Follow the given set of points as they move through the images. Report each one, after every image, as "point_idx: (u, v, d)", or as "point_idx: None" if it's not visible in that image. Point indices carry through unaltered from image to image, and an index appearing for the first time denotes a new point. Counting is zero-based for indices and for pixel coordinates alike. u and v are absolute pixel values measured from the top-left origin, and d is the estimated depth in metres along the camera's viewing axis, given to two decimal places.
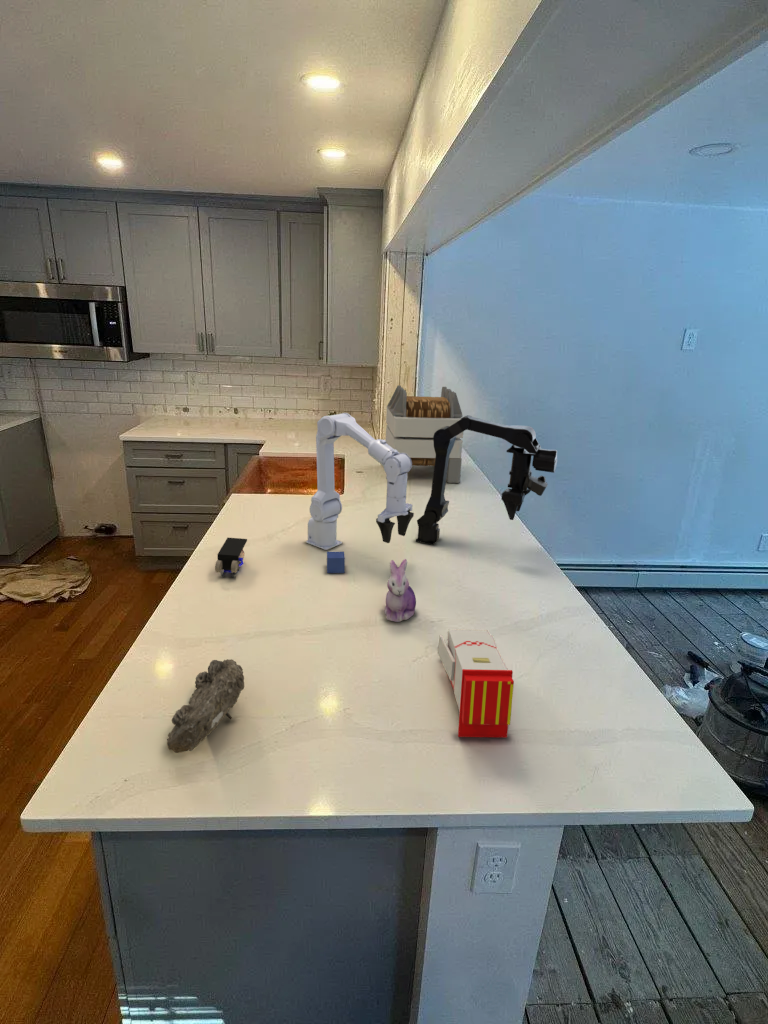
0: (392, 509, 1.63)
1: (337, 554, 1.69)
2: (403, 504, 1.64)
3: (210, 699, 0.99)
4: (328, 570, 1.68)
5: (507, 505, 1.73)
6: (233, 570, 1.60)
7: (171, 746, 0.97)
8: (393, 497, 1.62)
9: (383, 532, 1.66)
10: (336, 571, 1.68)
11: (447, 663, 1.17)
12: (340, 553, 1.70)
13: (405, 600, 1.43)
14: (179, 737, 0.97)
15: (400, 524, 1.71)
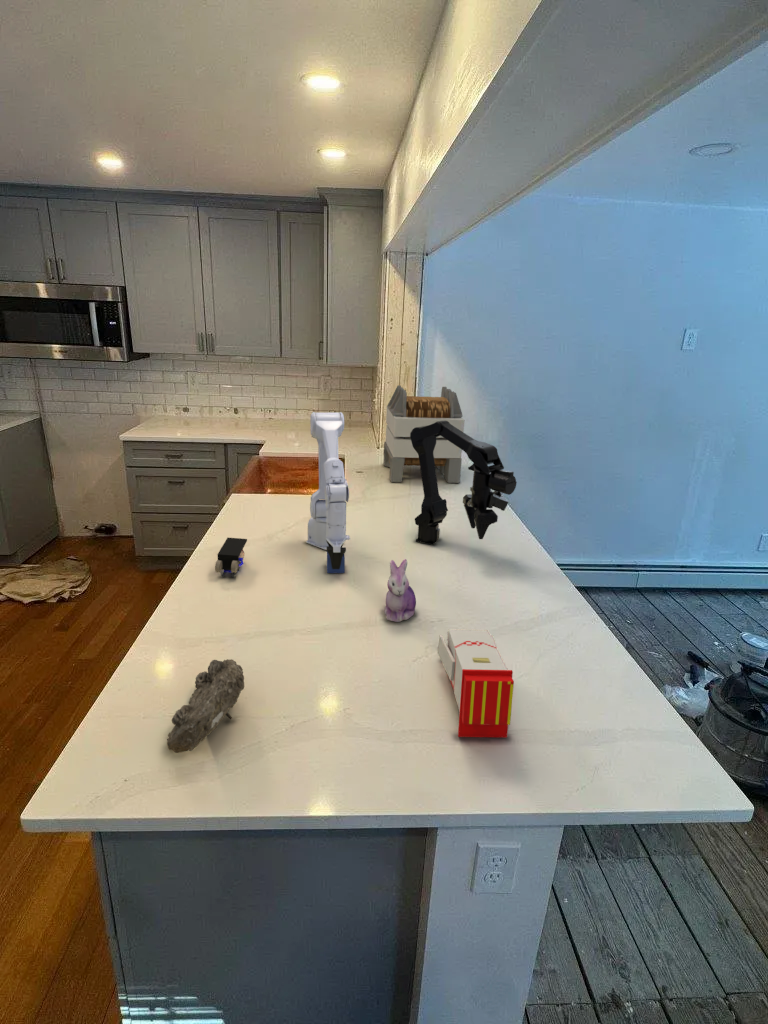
0: (338, 537, 1.64)
1: None
2: (345, 529, 1.66)
3: (210, 699, 0.99)
4: (328, 570, 1.68)
5: (479, 526, 1.71)
6: (233, 570, 1.60)
7: (171, 746, 0.97)
8: (339, 525, 1.63)
9: (333, 560, 1.66)
10: (336, 571, 1.68)
11: (447, 663, 1.17)
12: None
13: (405, 600, 1.43)
14: (179, 737, 0.97)
15: None
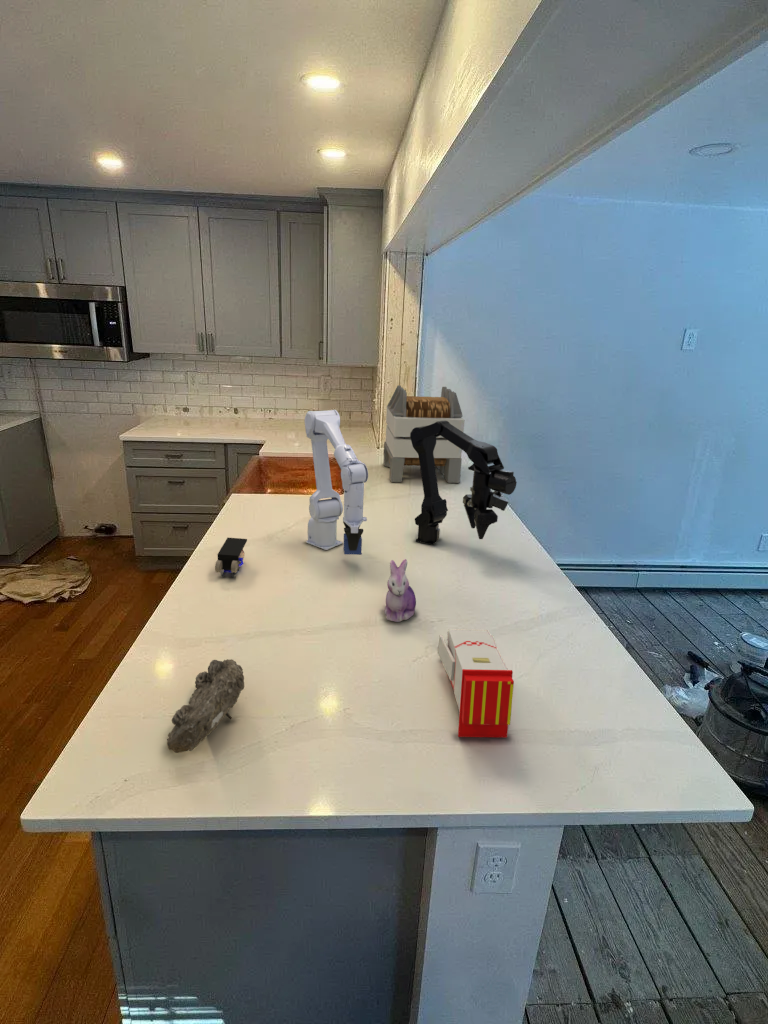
0: (356, 518, 1.65)
1: None
2: None
3: (210, 699, 0.99)
4: (345, 551, 1.69)
5: (479, 526, 1.71)
6: (233, 570, 1.60)
7: (171, 746, 0.97)
8: (357, 506, 1.64)
9: (350, 541, 1.67)
10: (353, 552, 1.69)
11: (447, 663, 1.17)
12: None
13: (405, 600, 1.43)
14: (179, 737, 0.97)
15: None
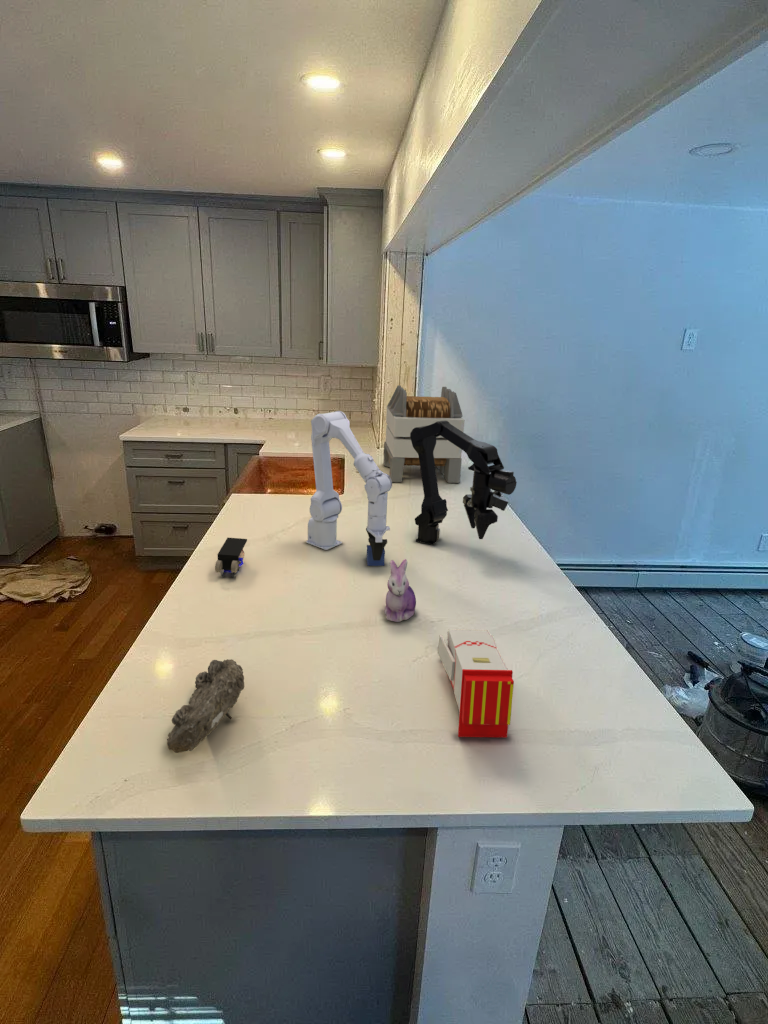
0: (380, 527, 1.70)
1: None
2: None
3: (210, 699, 0.99)
4: (369, 563, 1.74)
5: (479, 526, 1.71)
6: (233, 570, 1.60)
7: (171, 746, 0.97)
8: (381, 516, 1.69)
9: (374, 551, 1.71)
10: (376, 564, 1.74)
11: (447, 663, 1.17)
12: None
13: (405, 600, 1.43)
14: (179, 737, 0.97)
15: None
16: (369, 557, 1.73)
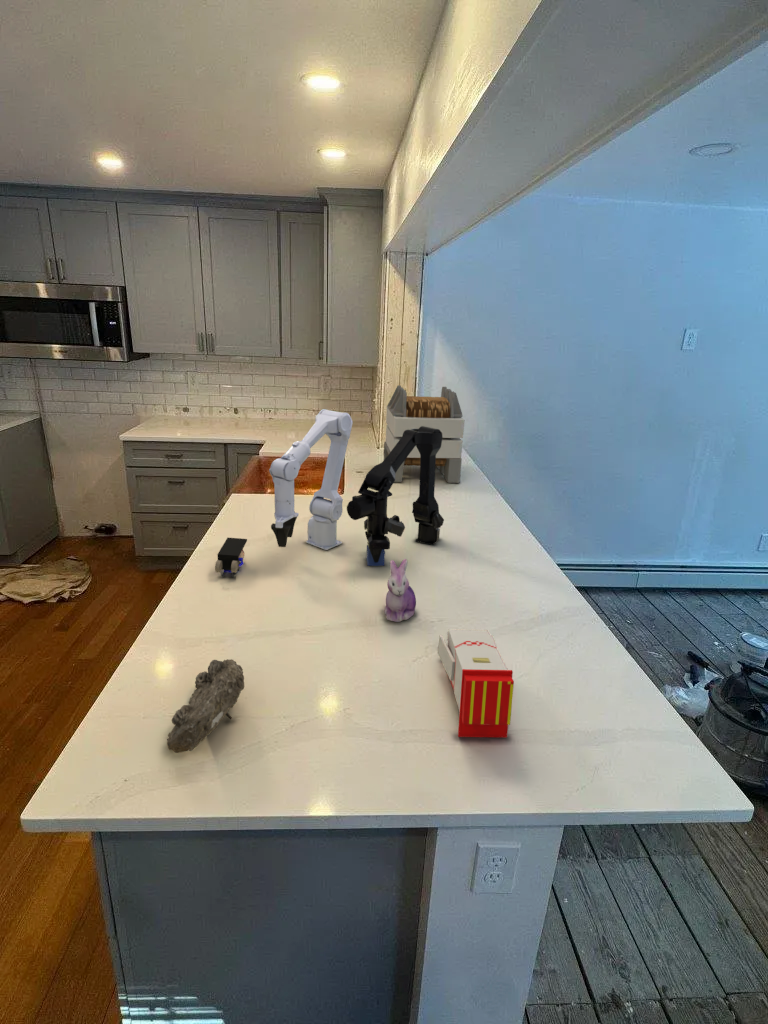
0: (284, 513, 1.65)
1: None
2: (293, 506, 1.67)
3: (210, 699, 0.99)
4: (369, 563, 1.74)
5: (372, 549, 1.71)
6: (233, 570, 1.60)
7: (171, 746, 0.97)
8: (285, 501, 1.64)
9: (278, 537, 1.66)
10: (376, 564, 1.74)
11: (447, 663, 1.17)
12: None
13: (405, 600, 1.43)
14: (179, 737, 0.97)
15: None
16: (369, 557, 1.73)
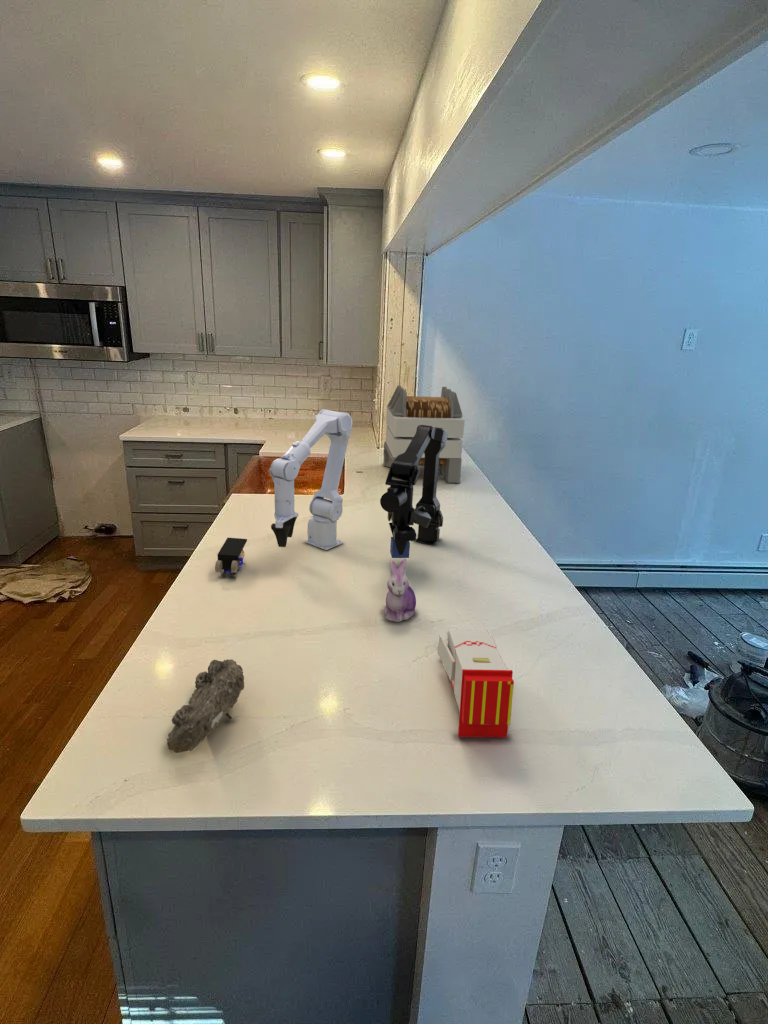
0: (284, 513, 1.65)
1: None
2: (293, 506, 1.67)
3: (210, 699, 0.99)
4: (393, 555, 1.68)
5: (397, 541, 1.64)
6: (233, 570, 1.60)
7: (171, 746, 0.97)
8: (285, 501, 1.64)
9: (278, 537, 1.66)
10: (401, 556, 1.68)
11: (447, 663, 1.17)
12: None
13: (405, 600, 1.43)
14: (179, 737, 0.97)
15: None
16: (393, 549, 1.67)
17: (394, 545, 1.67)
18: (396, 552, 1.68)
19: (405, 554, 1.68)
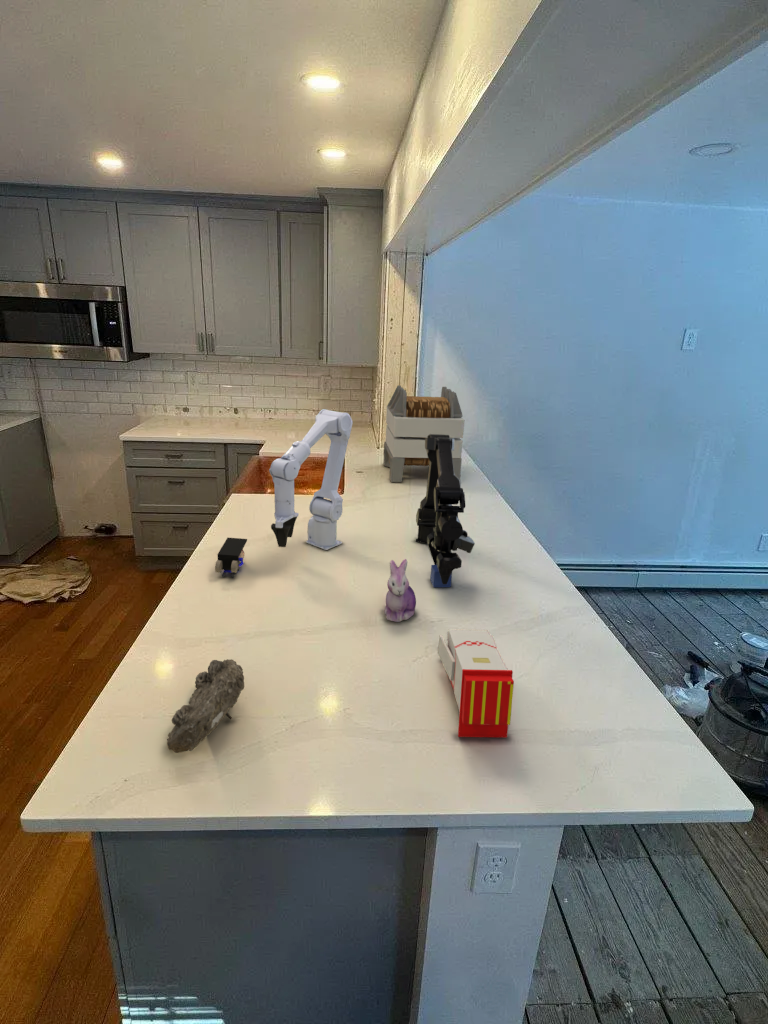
0: (284, 513, 1.65)
1: None
2: (293, 506, 1.67)
3: (210, 699, 0.99)
4: (434, 584, 1.62)
5: (441, 571, 1.57)
6: (233, 570, 1.60)
7: (171, 746, 0.97)
8: (285, 501, 1.64)
9: (278, 537, 1.66)
10: (442, 585, 1.63)
11: (447, 663, 1.17)
12: None
13: (405, 600, 1.43)
14: (179, 737, 0.97)
15: None
16: (435, 578, 1.62)
17: (436, 574, 1.61)
18: (438, 581, 1.62)
19: (447, 583, 1.63)
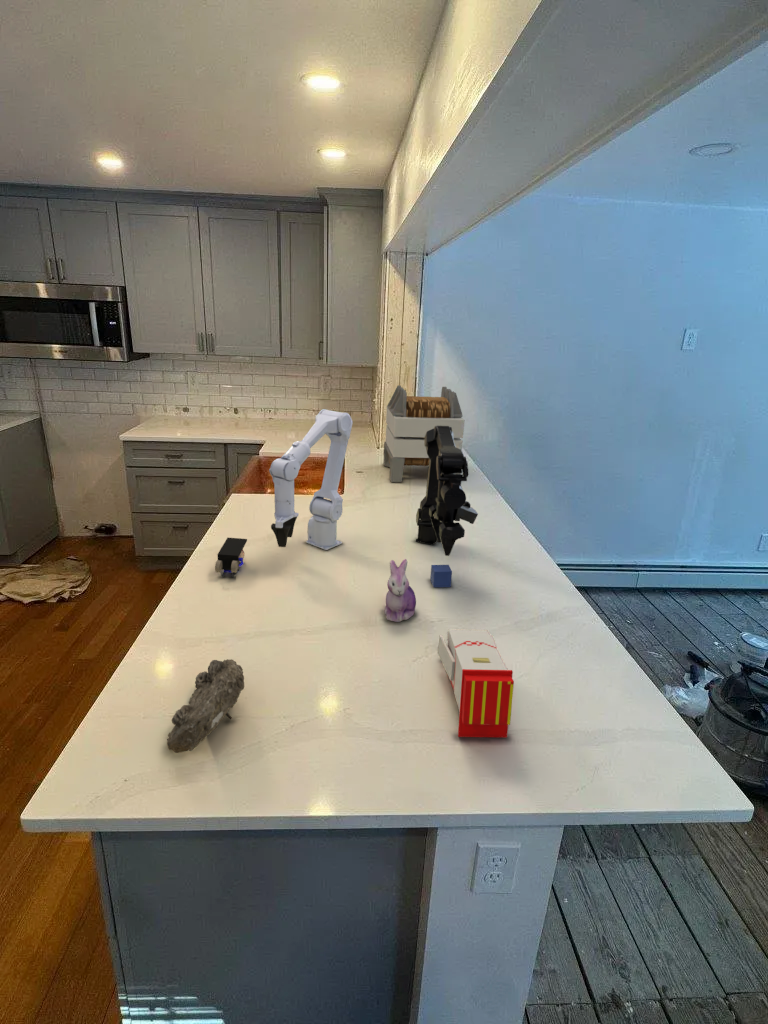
0: (284, 513, 1.65)
1: (443, 568, 1.63)
2: (293, 506, 1.67)
3: (210, 699, 0.99)
4: (434, 584, 1.62)
5: (444, 541, 1.53)
6: (233, 570, 1.60)
7: (171, 746, 0.97)
8: (285, 501, 1.64)
9: (278, 537, 1.66)
10: (442, 585, 1.63)
11: (447, 663, 1.17)
12: (446, 566, 1.64)
13: (405, 600, 1.43)
14: (179, 737, 0.97)
15: None
16: (435, 578, 1.62)
17: (436, 574, 1.61)
18: (438, 581, 1.62)
19: (447, 583, 1.63)
